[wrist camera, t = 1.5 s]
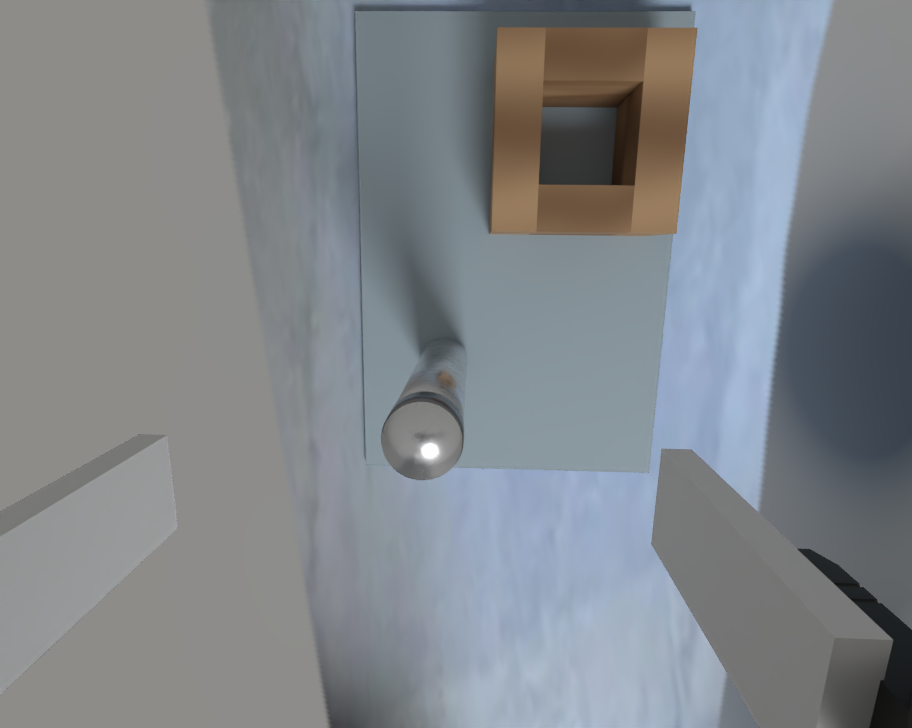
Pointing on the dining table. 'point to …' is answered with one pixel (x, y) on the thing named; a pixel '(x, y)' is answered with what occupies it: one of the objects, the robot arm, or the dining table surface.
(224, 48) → the dining table surface
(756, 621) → the robot arm
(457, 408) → the metal cylinder rod
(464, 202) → the mat
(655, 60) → the wooden block with hole
